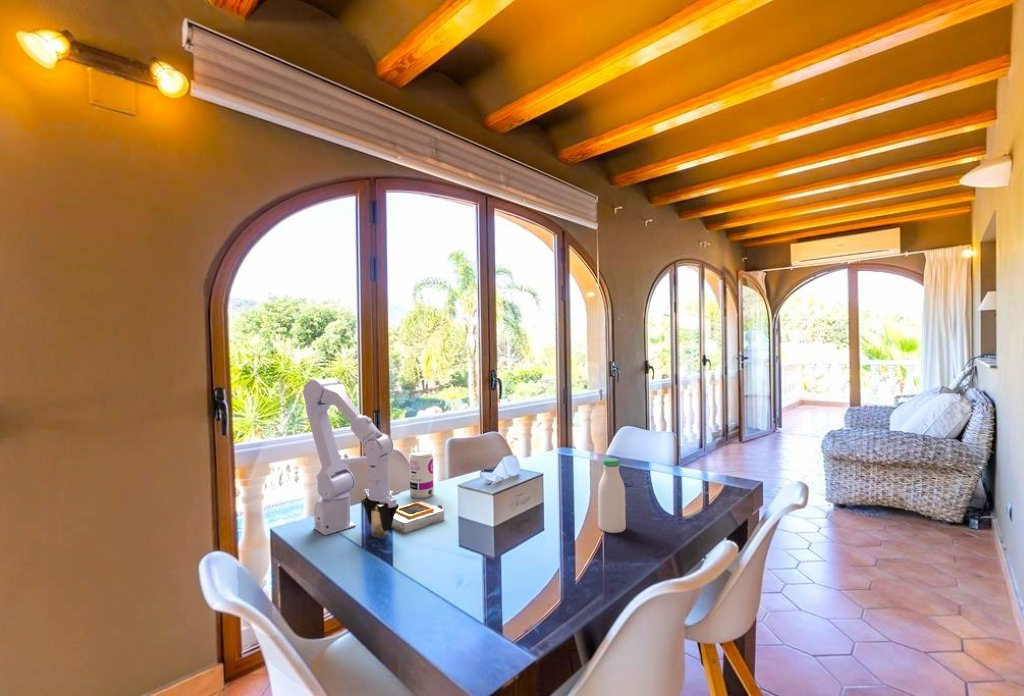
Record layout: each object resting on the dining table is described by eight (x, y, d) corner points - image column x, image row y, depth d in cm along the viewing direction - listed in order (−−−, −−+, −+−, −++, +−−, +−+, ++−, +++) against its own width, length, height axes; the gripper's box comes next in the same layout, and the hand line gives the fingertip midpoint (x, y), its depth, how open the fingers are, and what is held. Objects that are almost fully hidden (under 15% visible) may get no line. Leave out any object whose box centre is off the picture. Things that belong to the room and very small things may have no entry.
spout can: (376, 538, 129) (376, 509, 129) (368, 534, 132) (368, 506, 132) (396, 532, 133) (395, 504, 133) (387, 527, 137) (387, 500, 136)
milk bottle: (626, 534, 130) (625, 463, 130) (598, 532, 131) (597, 462, 131) (625, 524, 137) (624, 456, 137) (598, 522, 139) (597, 455, 139)
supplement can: (436, 491, 170) (435, 450, 170) (429, 499, 162) (429, 456, 162) (414, 491, 171) (413, 450, 171) (407, 498, 162) (406, 455, 162)
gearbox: (404, 533, 132) (404, 520, 132) (382, 522, 141) (382, 510, 141) (452, 517, 144) (452, 505, 144) (429, 508, 153) (429, 496, 153)
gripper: (405, 480, 130) (406, 529, 130) (378, 471, 140) (379, 516, 140) (382, 486, 125) (383, 537, 125) (356, 476, 135) (357, 523, 135)
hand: (379, 526), depth 132 cm, fingers open, 7 cm apart
